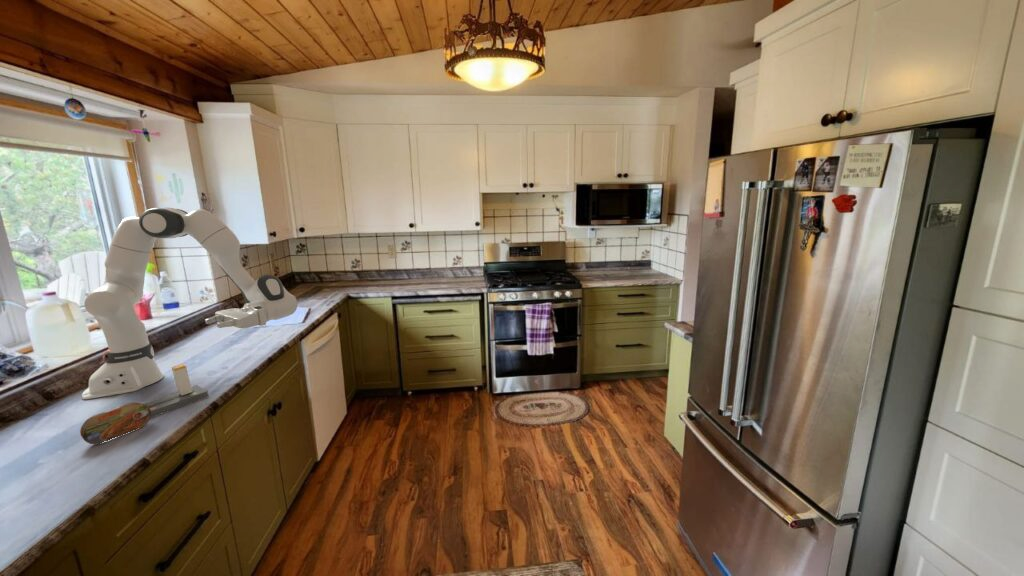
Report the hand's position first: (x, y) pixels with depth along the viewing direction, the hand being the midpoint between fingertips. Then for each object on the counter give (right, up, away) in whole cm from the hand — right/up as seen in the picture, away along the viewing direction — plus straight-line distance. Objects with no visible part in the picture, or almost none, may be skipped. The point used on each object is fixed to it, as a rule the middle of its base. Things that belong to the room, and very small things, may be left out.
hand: (211, 323), depth 144 cm
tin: (-9, -31, -24) cm, 40 cm away
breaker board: (-8, -27, -8) cm, 29 cm away
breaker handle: (-6, -23, -5) cm, 24 cm away
